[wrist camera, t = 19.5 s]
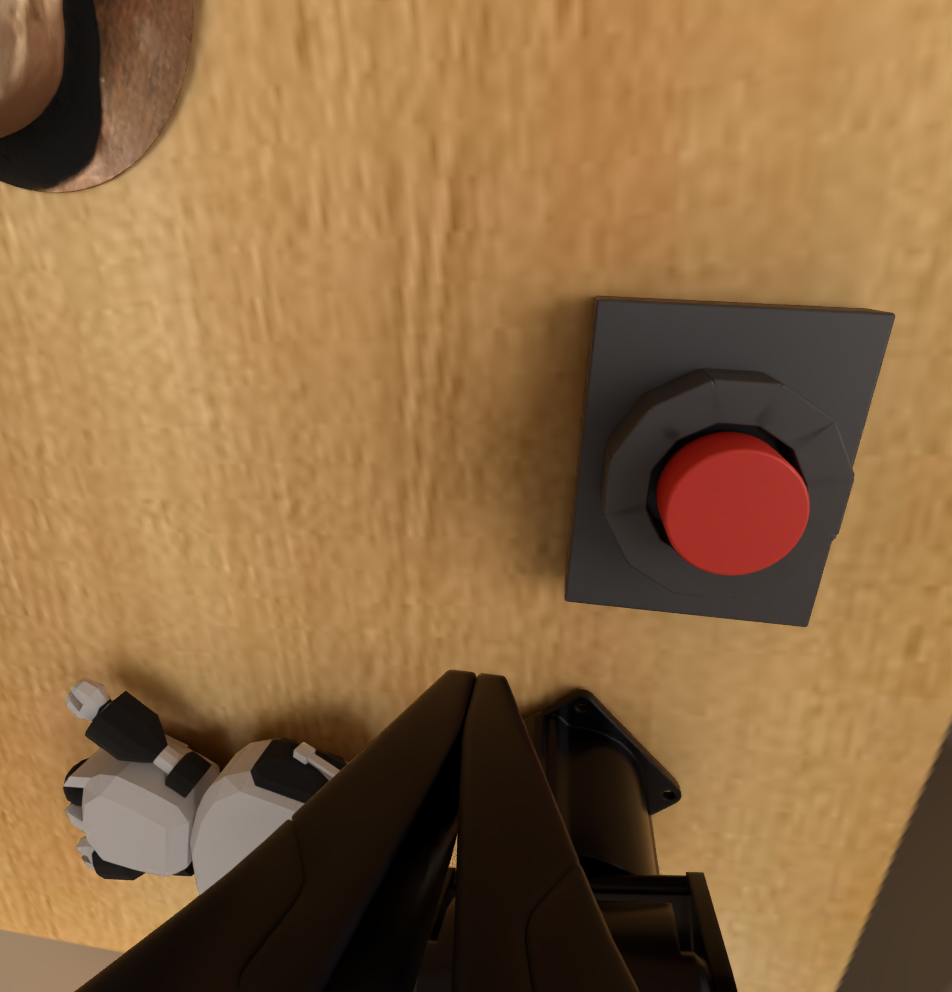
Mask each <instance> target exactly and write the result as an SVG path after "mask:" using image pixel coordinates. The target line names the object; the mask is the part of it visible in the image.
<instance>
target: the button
mask: <svg viewBox="0 0 952 992" xmlns="http://www.w3.org/2000/svg"><path fill="white" fill-rule="evenodd" d="M656 502H657V507H658V511H659V514H660V517H661V520H662V522H663V525H664V528H665V531H666V534H667V536H668V539H669V541H670V543H671V545H672V546H673V548H674V549H675V550H676V552H677V553H678V554H679V555H680V556H681V557H682V558H683V559H684V560H686V561H687V562H688V563H690V564H691V565H693V566H695V567H697V568H699V569H701V570H704V571H707V572H710V573H714V574H720V575H743V574H749V573H753V572H756V571H759V570H762V569H764V568H767V567H769V566H771V565H772V564H774V563H776V562H777V561H779V560H780V559H782V558H783V557H784V556H785V555H787V554H788V553H789V552H790V551H791V550H792V549H793V547H794V546H795V545H796V544H797V542H798V541H799V540H800V538H801V536H802V534H803V532H804V530H805V528H806V525H807V522H808V517H809V511H810V501H809V494H808V491H807V487H806V485H805V483H804V481H803V479H802V477H801V476H800V474H799V473H798V472H797V471H796V469H795V468H794V467H793V466H792V465H791V464H790V463H789V462H787V461H786V460H785V459H784V458H783V457H782V456H781V455H780V454H779V453H778V452H777V451H776V450H775V449H773V448H772V447H771V446H770V445H769V444H767V443H766V442H764V441H762V440H761V439H759V438H757V437H754V436H752V435H748V434H745V433H739V432H717V433H712V434H708V435H705V436H702V437H699V438H697V439H695V440H693V441H691V442H689V443H688V444H686V445H685V446H683V447H682V448H681V449H679V450H678V451H677V452H676V453H675V454H674V455H673V456H672V457H671V458H670V459H669V461H668V462H667V464H666V465H665V467H664V469H663V470H662V472H661V475H660V477H659V480H658V484H657V490H656Z"/></svg>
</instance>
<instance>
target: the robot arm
mask: <svg viewBox="0 0 952 992" xmlns="http://www.w3.org/2000/svg"><path fill="white" fill-rule="evenodd" d="M580 701H584V702H586V703H587V704H585V705H580V704H578V702H580ZM667 790H670V792H665V791H667ZM680 798H681V790H680V785H679V784H678V782H677V781H676V780H675V779H674V778H673V777H672V776H671V775H670V774H669V773H668V772H667V771H666V770H665V769H664V768H663V767H662V766H661V764H660V763H659V762H658V761H657V760H656V759H655V758H654V757H653V756H652V755H651V754H650V753H649V752H648V751H647V750H646V749H645V748H644V747H643V746H642V745H641V744H640V743H639V742H638V741H637V740H636V739H635V738H634V737H633V736H632V734H631V733H630V732H629V731H628V730H627V729H626V728H625V727H624V726H623V725H622V724H621V723H620V722H619V721H618V720H617V719H616V718H615V717H614V716H613V715H612V714H611V713H610V712H609V711H608V710H607V709H606V708H605V707H604V706H603V704H602V703H601V702H600V701H599V700H598V699H597V698H596V697H595V696H594V695H593V694H592V693H590V692H589V691H587V690H576V691H574V692H572V693H571V694H569V695H567V696H566V697H564V698H563V699H561V700H559V701H558V702H556V703H555V704H553V705H551V706H550V707H548V708H546V709H545V710H543V711H542V712H540V713H534V714H533V715H531V716H529V717H528V718H526V719H524V720H523V719H522V716H521V714H520V711H519V709H518V706H517V704H516V701H515V699H514V696H513V694H512V691H511V689H510V686H509V684H508V681H507V679H506V678H505V677H504V676H501V675H493V674H484V673H481V674H479V675H478V676H477V677H476V674H475V673H474V672H468V671H460V670H449V671H447V672H446V673H445V674H444V675H442V676H441V677H440V678H439V679H438V680H437V681H436V682H435V683H434V684H433V685H432V686H431V687H430V688H428V689H427V690H426V691H425V692H424V693H423V694H422V695H421V696H420V697H419V698H418V699H417V700H416V701H414V702H413V703H412V704H411V705H410V706H409V707H408V708H407V709H406V710H405V711H404V712H403V713H402V714H400V715H399V716H398V717H397V718H396V719H395V720H394V721H393V722H392V723H391V724H390V725H389V726H388V727H386V728H385V729H384V730H383V731H382V732H381V733H380V734H379V735H378V736H377V737H376V738H375V739H374V740H372V741H371V742H370V743H369V744H368V745H367V746H366V747H365V748H364V749H363V750H362V751H361V752H360V753H358V754H357V755H356V756H355V757H354V758H353V759H352V760H351V761H350V762H349V763H348V764H347V765H346V766H345V767H343V768H342V769H341V770H340V771H339V772H338V773H337V774H336V775H335V776H334V777H333V778H332V779H331V780H329V781H328V782H327V783H326V784H325V785H324V786H323V787H322V788H321V789H320V790H319V791H318V792H317V793H315V794H314V795H313V796H312V797H311V798H310V799H309V800H308V801H307V802H306V803H305V804H304V805H303V806H301V807H300V808H299V809H298V810H297V811H296V812H295V813H294V814H293V815H292V820H290V819H288V820H286V821H285V822H284V823H283V824H282V825H281V826H280V827H278V828H277V829H276V830H275V831H274V832H273V833H272V834H271V835H270V836H269V837H268V838H267V839H266V840H264V841H263V842H262V843H261V844H260V845H259V846H258V847H256V848H255V849H254V850H253V851H252V852H251V853H250V854H249V855H247V856H246V857H245V858H244V859H243V860H242V861H241V862H239V863H238V864H237V865H236V866H235V867H234V868H233V869H232V870H230V871H229V872H228V873H227V874H226V875H224V876H223V877H222V878H221V879H219V880H218V881H217V882H216V883H214V884H213V885H212V886H211V887H209V888H208V889H207V890H206V891H204V892H203V893H202V894H201V895H199V896H198V897H197V898H196V899H194V900H193V901H192V902H191V903H189V904H188V905H187V906H186V907H184V908H183V909H182V910H180V911H179V912H178V913H177V914H175V915H174V916H173V917H171V918H170V919H169V920H167V921H166V922H165V923H163V924H162V925H161V926H160V927H158V928H157V929H156V930H154V931H153V932H152V933H150V934H149V935H148V936H147V937H145V938H144V939H143V940H141V941H140V942H139V943H137V944H136V945H135V946H133V947H132V948H131V949H130V950H128V951H127V952H126V953H124V954H123V955H122V956H121V957H119V958H118V959H117V960H115V961H114V962H113V963H112V964H110V965H109V966H107V967H106V968H105V969H103V970H102V971H101V972H100V973H99V974H97V975H96V976H94V977H93V978H92V979H90V980H89V981H88V982H87V983H85V984H84V985H83V986H81V987H80V988H79V989H77V990H76V991H75V992H737V988H736V984H735V980H734V976H733V973H732V969H731V966H730V962H729V959H728V955H727V952H726V949H725V945H724V942H723V938H722V935H721V931H720V928H719V924H718V921H717V917H716V914H715V911H714V907H713V904H712V900H711V897H710V893H709V890H708V886H707V883H706V880H705V876H704V873H702V872H686V876H684V875H660V874H659V867H658V860H657V853H656V847H655V840H654V833H653V826H652V819H651V815H653V814H655V813H657V812H659V811H661V810H663V809H665V808H667V807H669V806H671V805H673V804H675V803H677V802H678V801H679V800H680ZM457 833H458V840H457V865H456V868H451V867H449V864H450V860H451V856H452V853H453V849H454V845H455V841H456V837H457Z"/></svg>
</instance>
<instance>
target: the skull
mask: <svg viewBox="0 0 952 992" xmlns="http://www.w3.org/2000/svg"><path fill="white" fill-rule="evenodd" d="M193 13H194V7H193V0H0V181H2V182H5V183H8V184H11V185H14V186H17V187H20V188H24V189H29V190H35V191H43V192H67V191H75V190H81V189H85V188H89V187H92V186H95V185H98V184H100V183H103V182H105V181H107V180H109V179H112V178H113V177H114V176H116V175H118V174H120V173H121V172H123V171H124V170H125V169H127V168H128V167H130V166H131V165H132V164H133V163H134V162H135V161H136V160H138V159H139V158H140V157H141V156H142V155H143V154H144V152H145V151H146V150H147V149H148V148H149V147H150V145H151V144H152V142H154V141H155V139H156V137H157V136H158V135H159V133H160V131H161V130H162V128H163V127H164V124H165V122H166V121H167V120H168V118H169V115H170V114H171V112H172V109H173V107H174V105H175V103H176V100H177V96H178V93H179V91H180V89H181V86H182V80H183V76H184V73H185V72H186V63H187V60H188V52H189V44H190V42H191V37H192V35H190V34H191V30H192V23H193Z"/></svg>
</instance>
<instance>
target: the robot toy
mask: <svg viewBox="0 0 952 992" xmlns="http://www.w3.org/2000/svg"><path fill="white" fill-rule="evenodd" d="M66 706H67V707H68V708H69V709H70V710H71V711H72V713H73V714H74V715H75V716H76V717H77V718H82V719H86V720H90V721H93V722H92V723H91V724H90V726H89V727H88V729H87V731H86V733H85V736H86V737H87V738H89V739H90V740H91V741H93V742H94V743H95V744H97V745H98V746H100V747H101V748H100V749H99V750H98V751H97V752H96V753H94V754H93V755H92V756H91V757H90V758H88V759H85V760H82V761H81V762H79V763H78V764H76V765H75V766H73V767H72V769H71V770H70V771H69V772H68V774H67V776H66V778H65V782H64V785H63V786H64V787H63V789H64V793H65V795H66V798H67V800H68V801H70V802H71V804H70V805H69V806H68V807H67V808H66V809H65V812H66V813H67V815H68V817H69V819H70V820H71V822H72V824H73V825H74V826H75V827H77V828H78V829H80V830H81V831H83V832H85V834H86V836H85V837H83V838H81V839H80V841H79V842H78V844H77V846H76V848H77V850H78V852H79V853H80V854H82V855H83V856H82V859H83V861H84V863H85V864H86V866H87V867H88V868H91V869H94V870H95V871H96V873H97V874H98V875H99V876H101V877H103V878H104V879H118V880H135V879H136V878H138V877H140V876H141V875H143V874H144V873H150V874H155V875H160V876H169V875H178V876H192V875H193V874H195V879H196V884H197V888H198V892H199V895H201V894H202V893H203V892H204V891H206V890H207V889H208V888H209V887H211V886H212V885H213V884H214V883H216V882H217V881H218V880H219V879H221V878H222V877H223V876H224V875H226V874H227V873H228V872H229V871H230V870H232V869H233V868H234V867H235V866H236V865H237V864H238V863H239V862H241V861H242V860H243V859H244V858H245V857H246V856H247V855H249V854H250V853H251V852H252V851H253V850H254V849H255V848H256V847H258V846H259V845H260V844H261V843H262V842H263V841H264V840H266V839H267V838H268V837H269V836H270V835H271V834H272V833H273V832H274V831H275V830H276V829H277V828H278V827H280V826H281V825H282V824H283V823H284V822H285V821H286V820H288V819H290V820H292V815H293V814H294V813H295V812H296V811H297V810H298V809H299V808H300V807H301V806H303V805H304V804H305V803H306V802H307V801H308V800H309V799H310V798H311V797H312V796H313V795H314V794H315V793H317V792H318V791H319V790H320V789H321V788H322V787H323V786H324V785H325V784H326V783H327V782H328V781H329V780H331V779H332V778H333V777H334V776H335V775H336V774H337V773H338V772H339V771H340V770H341V769H342V768H343V767H345V766H346V765H347V764H348V763H349V762H346V761H345V760H344V759H343V758H342V757H339V756H336V755H333V754H330V753H327V752H324V751H322V750H319V749H316V748H313V747H311V746H310V745H308V744H307V743H305V742H303V743H299V742H296V741H293V740H290V739H287V738H283V739H281V738H276V739H270V740H264V741H257V742H251V743H249V744H248V745H247V746H245V747H244V748H242V749H241V750H240V751H238V752H237V753H236V754H235V755H234V757H233V758H232V759H231V760H230V762H229V763H228V764H227V766H226V767H225V768H224V769H223V771H222V772H221V773H220V770H219V767H218V764H216V763H215V762H213V761H211V760H209V759H208V758H206V757H204V756H202V755H201V754H199V753H197V752H195V751H193V750H191V749H189V748H188V745H187V744H185V743H183V742H181V741H179V740H177V739H175V738H172V737H170V736H168V735H165V733H164V730H163V728H162V725H161V723H160V720H159V717H158V715H157V714H156V713H154V712H153V711H152V710H150V709H149V708H148V707H146V706H145V705H144V704H142V703H141V702H140V701H138V700H137V699H136V698H134V697H133V696H132V695H130V694H129V693H128V692H127V691H125V692H124V693H123V694H121V695H120V696H119V697H117V698H116V699H115V700H113V701H111V698H110V697H109V695H108V693H107V691H106V689H105V687H104V685H102V684H100V683H98V682H96V681H93V680H91V679H84V680H80V681H78V682H77V683H76V684H75V685H73V687H72V688H71V692H70V693H69V694H68V695H67V697H66Z"/></svg>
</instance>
